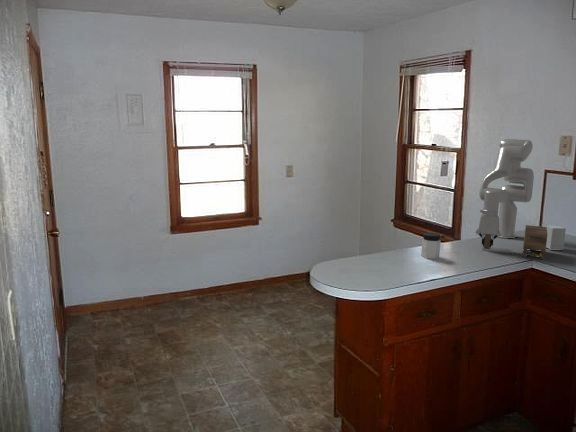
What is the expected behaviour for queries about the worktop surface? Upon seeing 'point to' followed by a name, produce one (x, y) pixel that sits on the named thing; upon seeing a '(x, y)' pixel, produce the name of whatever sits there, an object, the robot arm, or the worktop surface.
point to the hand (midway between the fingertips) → (487, 245)
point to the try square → (488, 248)
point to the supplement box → (555, 237)
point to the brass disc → (537, 254)
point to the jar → (431, 245)
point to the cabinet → (535, 239)
